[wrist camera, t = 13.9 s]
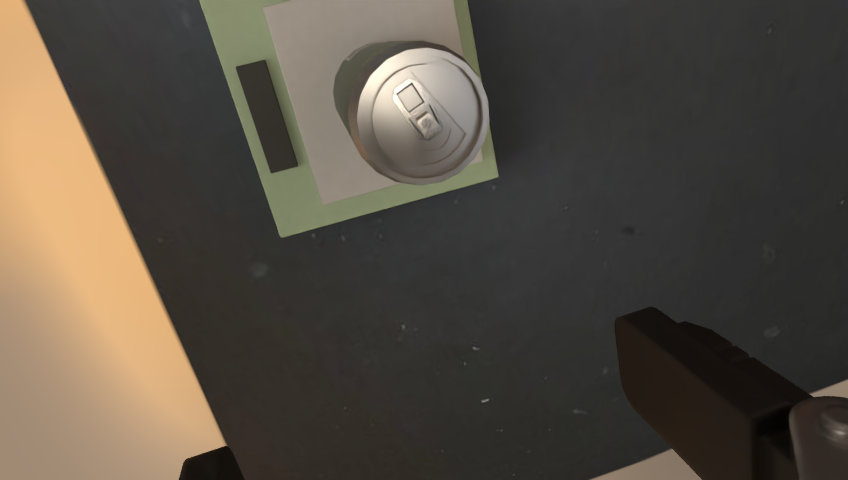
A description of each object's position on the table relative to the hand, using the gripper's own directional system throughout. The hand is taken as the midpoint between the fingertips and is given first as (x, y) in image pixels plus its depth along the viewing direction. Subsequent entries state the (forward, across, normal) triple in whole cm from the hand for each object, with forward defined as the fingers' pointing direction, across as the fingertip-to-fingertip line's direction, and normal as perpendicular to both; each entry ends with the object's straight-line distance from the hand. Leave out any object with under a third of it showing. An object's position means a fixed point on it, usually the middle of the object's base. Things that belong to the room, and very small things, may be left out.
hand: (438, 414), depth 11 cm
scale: (+27, -2, -4) cm, 27 cm away
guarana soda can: (+23, -3, -4) cm, 24 cm away
